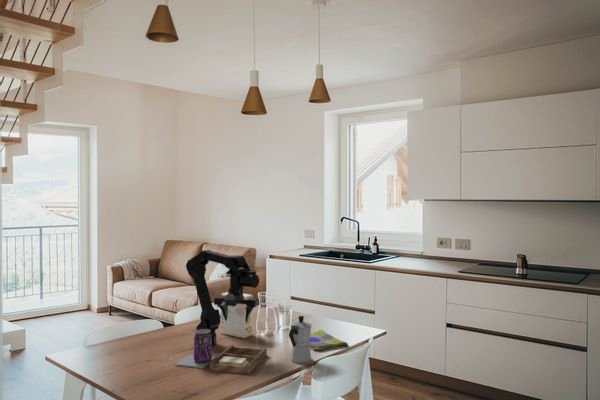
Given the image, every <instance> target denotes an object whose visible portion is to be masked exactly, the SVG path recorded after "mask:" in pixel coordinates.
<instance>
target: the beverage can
mask: <svg viewBox="0 0 600 400" xmlns="http://www.w3.org/2000/svg"><path fill="white" fill-rule="evenodd" d="M193 355H194V360H195V361H197V362H199V363H205V362H208V361H210V360H211V359H212V356H213V346H212V334H211V330H209V329H199V330H197V329H196V330H195V331H194V335H193Z"/></svg>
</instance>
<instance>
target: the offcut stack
mask: <svg viewBox="0 0 600 400" xmlns="http://www.w3.org/2000/svg"><path fill="white" fill-rule="evenodd" d="M248 363H249V361H246V358H239V357H227V356H224V357H223V358H222V359H221V360H219V364H228V365H238V366H246V365H247V364H248Z"/></svg>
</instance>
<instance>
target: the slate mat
mask: <svg viewBox="0 0 600 400" xmlns="http://www.w3.org/2000/svg"><path fill="white" fill-rule="evenodd" d="M216 357H217V356H213V355H212V359H211V360H210V361H208V362H205V363H199V362H197V361H195V360H194V354H193V353H192V354H190V353H189V354H187V355H185V357H183V358H181V359H180V360H179V361H177V362H176V363H174V366H175V367H185V368H194V369H195V368H196V369H204V368H206V367H208V365H210V362H211V361H212V360H213V359H214V358H216Z"/></svg>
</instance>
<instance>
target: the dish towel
mask: <svg viewBox="0 0 600 400" xmlns="http://www.w3.org/2000/svg"><path fill="white" fill-rule="evenodd" d="M308 343H309V347H310V351H314V352H315V351H316V352H318V351H324V350H332V349H340V348H347V347H349V343H348V342H346V341H342V340H340V339H337V338H336V337H334V336H332V335H331V334H328V332H326V331H325V330H323V329H319V330H317V331H314V332H310V340H309V342H308Z"/></svg>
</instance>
